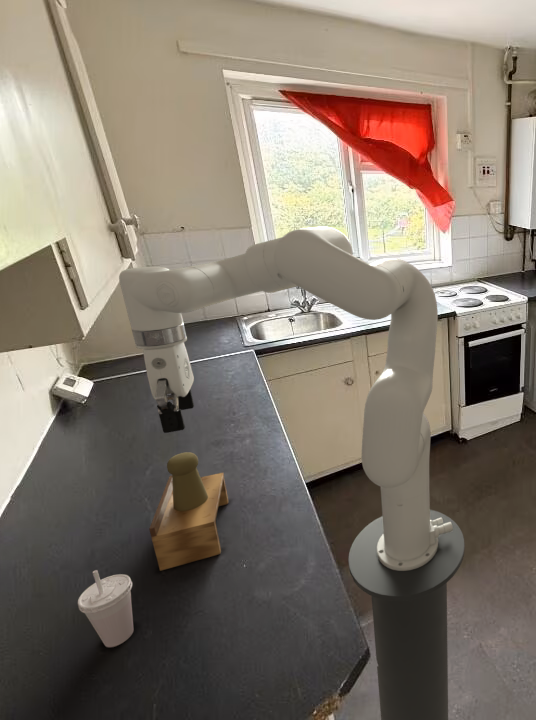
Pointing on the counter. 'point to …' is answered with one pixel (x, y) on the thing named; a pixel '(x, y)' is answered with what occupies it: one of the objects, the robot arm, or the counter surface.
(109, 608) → the smoothie
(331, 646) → the counter surface
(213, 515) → the spice shelf
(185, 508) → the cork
